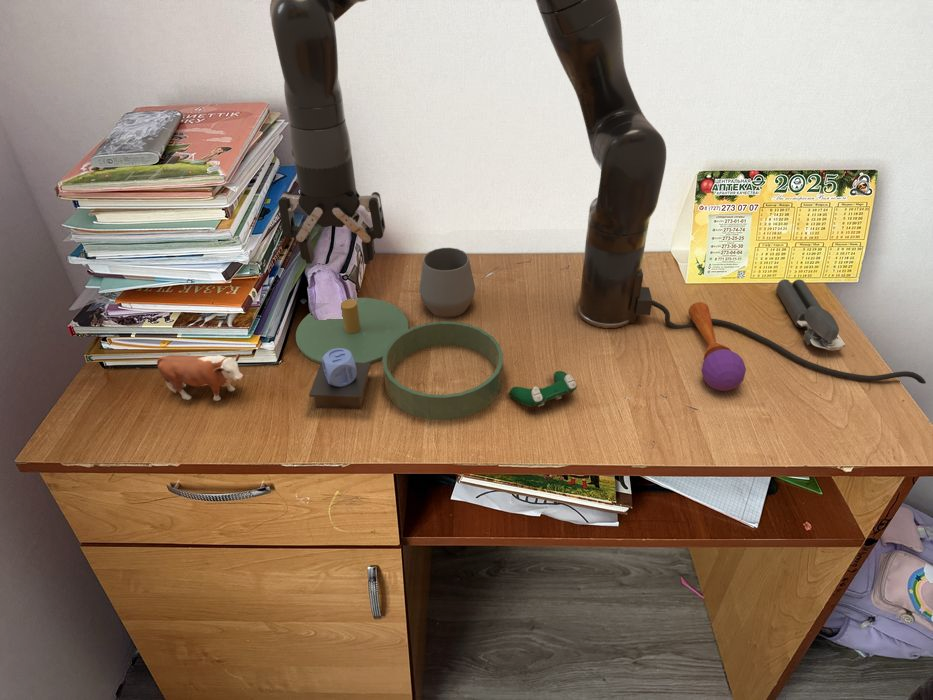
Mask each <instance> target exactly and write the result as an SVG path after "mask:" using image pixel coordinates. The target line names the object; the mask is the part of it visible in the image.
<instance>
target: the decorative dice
mask: <svg viewBox="0 0 933 700" xmlns="http://www.w3.org/2000/svg"><path fill="white" fill-rule="evenodd" d="M322 365H323V369H324V373H325V376H326V379H327V381H328V383H329V384H330V385H333V386H337V387H342V386H346V385H348V384H350V383H351V382H353V381H354V379H355V378H356V377H357V369H356V365H355V361H354V358H353V356H352V354H351V352H350V351H349V350H347V349H344V348H336V349H332V350H330V351H328V352H327V353H326V354H325V355H324V356H323V357H322Z"/></svg>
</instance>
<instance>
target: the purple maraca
mask: <svg viewBox="0 0 933 700" xmlns="http://www.w3.org/2000/svg"><path fill="white" fill-rule="evenodd" d="M687 313H688V317H690V319H691V321H692V323H693V322H694V323H695V325H696V326H695V328H696V329H698V331H699V332H700V334H701V335H702V338H703V339H704V340H705V342H706V343H707V345H708V346H707V348H706V350H705V353H704V356H703V361H702V366H701V373H702V377H703V380H704V382H705V383H706V384H707V385H708V386H709V387H711V388H712V389H715V390H717V391H720V392H721V391H722V392H727V391H731V390H734V389H736V388H737V387H739V386H740V385H741V384H742V383H743V381H744V380H745V376H746V371H747V368H746V364H745V362H744V359H743V358H742V357H741V356H740V354H739V353H736V352H734V351H733V350H732V349H730V347H727V346H725V345H723V344H720V343H719V342H717V340H716V335H715V331H714V327H713V324H712V321H711V319H712V317H711V312H710V307H709V305H708V304H707V303H705V302H703V301H697V302H694V303H693V304H691V305H690V306H689V308H688V310H687Z"/></svg>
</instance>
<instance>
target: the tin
mask: <svg viewBox="0 0 933 700" xmlns="http://www.w3.org/2000/svg"><path fill="white" fill-rule="evenodd" d="M437 346H457V347H462V348H467V349H470V350H472V351H474V352H477V353H480V354H481V355H483V356H484V357H485V358H486V359H488V360H489V361H490V363H492V365H493V366H494V367H495V370H494V372H493V373H492V374H491V375H490V376H489V377H488V378H487V380H485V381H484V382H481V383H480V384H479V385H477V386H475V387H473V388H470V389H467V390H464V391H461V392H454V393H447V394H436V393H435V394H433V393H426V392H421V391H417V390H414V389H411V388H410V387H407V386H405V385H403V384H402V383H400V382H399V381H398V380H397V379H395V378H394V377H393V374H392V372H393V370H394V369H395V367H396V366H397V365H398V364H399V363H400V362H401V361H402V360H403V359H404V358H405V357H407V356H409V355H410V354H412V353H414V352H416V351H420V350H422V349H423V350H424V349H426V348H429V347H430V348H431V347H437ZM381 363H382V372H383V378H384V386H385V392H386V394H387V396H388V397H389V399H390V401H391V402H392V404H394V405H395V406H397V408H399V410H401V411H403V412H405V413H407V414H409V415H412V416H415V417H418V418H422V419H427V420H434V421H435V420H436V421H438V420H439V421H449V420H455V419H456V420H457V419H463V418H465V417H468V416H471V415H474V414H477V413H480V411H482V410H483V409H485V408H486V407H488V406H490V405H491V404H492V403H493V402H494V400H496V398H497V397H499V396H500V394H501V392H502V389H503V381H504V379H503V378H504V377H503V376H504V368H503V367H504V352H503V350H502V346H501V345H500V342H498V341H497V339H496V338H495V337H494V336H493V335H492V334H490V333H489V332H487V331H486V330H484V329H482V328H480V327H478V326H474V325H472V324H469V323H464V322H458V321H446V320H445V321H441V320H440V321H433V322H426V323H423V324H418V325H415V326H412V327H409V329H408V330H406V331H404V332H402V333H401V334H399V335H398V336H397V337H395V338H394V339H393V340H392V341H391V342H390V343H389V345H388V346H387V348H386V349H385V351H384V355H383V359H382V360H381Z"/></svg>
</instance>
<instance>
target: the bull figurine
mask: <svg viewBox="0 0 933 700" xmlns="http://www.w3.org/2000/svg"><path fill="white" fill-rule="evenodd" d="M240 357H241V353H238V354H236V355H235V356H234V358H233V357H229V356H228V357H226V356H224V355H221V354H220V355H219V354H216V355H185V354H169V355H164V356H160V357H159V358H158V359H157V361H156V367H157V370H158V371H159V374H160V375H161V377H162V378H163V380H164V382H165V385H166V386H167V388H168V389H169V390H170V391H171V392H173V393H175V394H176V393H177V392H178V393H179V394H180V396H181V397H182V399H183V400H186V401H187V400H188V401H189V400H191V399H192V398H193V396H192V395H190V394H188V393H187V392H186V391H185V390H184V388H186V387H187V385H189V386H191V387H203V386H209V387H210V389H211V391H212V393H213V399H212V400H213V401H216V402H217V401H220V400H221V398H222V397H221V396H220V388H221V387H222V388H223V387H226V388H227V391H229V392H234V391H235V390H236V388H235V387H234V386H233V385H232V384H231V383H232V382H233V381H234V382H236V383H237V382H240V381H242V380H243V379H244V378H245V377H244V374H242V373H241V371H240V369H239V364H238V363H239V362H238V361H239V360H240Z"/></svg>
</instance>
